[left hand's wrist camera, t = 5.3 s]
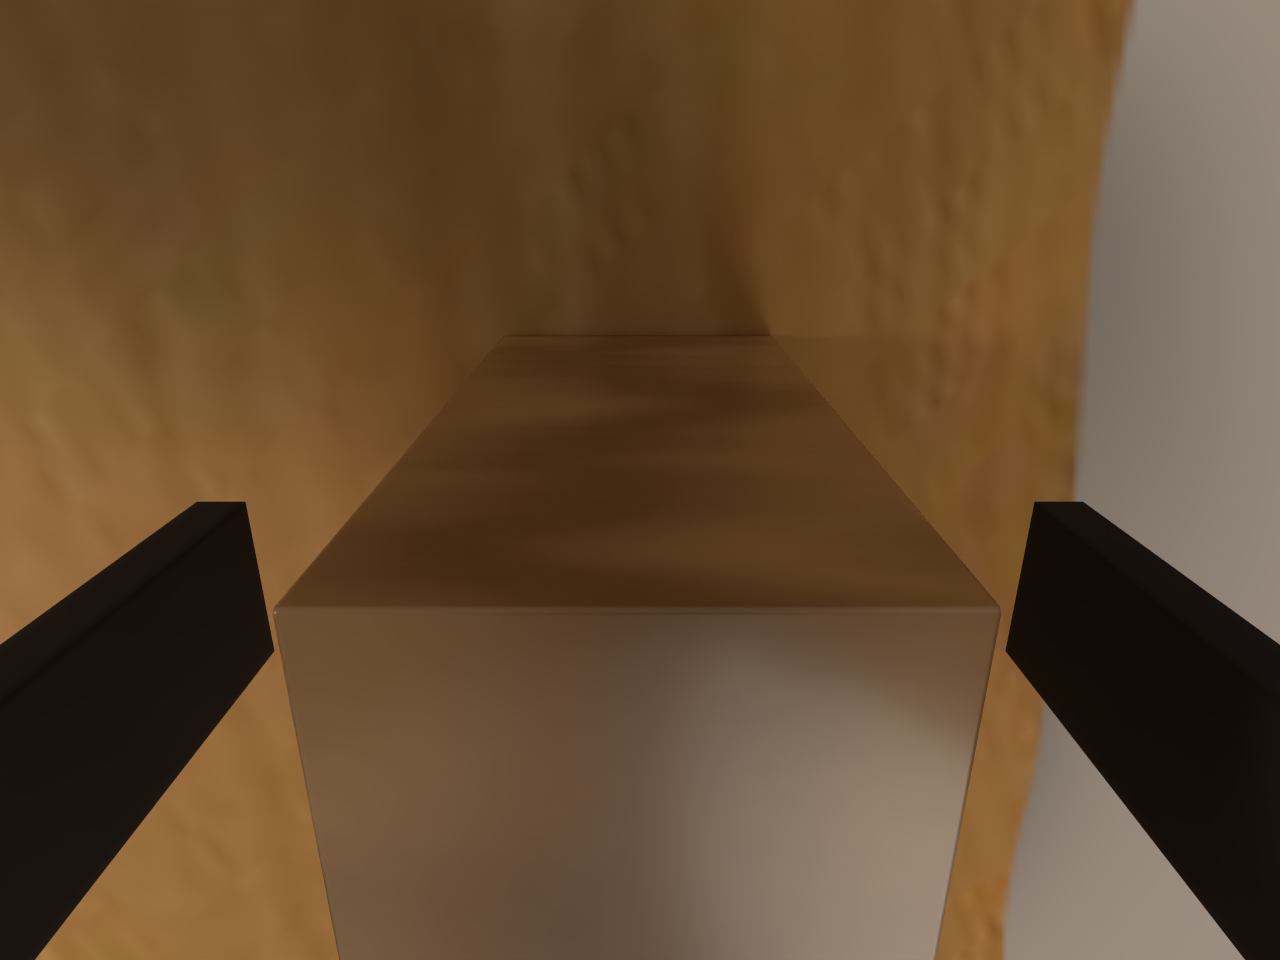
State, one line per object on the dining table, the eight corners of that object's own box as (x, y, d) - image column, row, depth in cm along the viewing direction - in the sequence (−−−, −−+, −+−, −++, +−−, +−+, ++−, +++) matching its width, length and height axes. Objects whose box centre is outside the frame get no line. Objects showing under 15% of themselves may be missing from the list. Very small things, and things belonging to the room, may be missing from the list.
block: (772, 335, 15) (1006, 608, 6) (755, 614, 18) (900, 1155, 8) (503, 335, 15) (268, 608, 6) (520, 614, 18) (374, 1157, 8)
